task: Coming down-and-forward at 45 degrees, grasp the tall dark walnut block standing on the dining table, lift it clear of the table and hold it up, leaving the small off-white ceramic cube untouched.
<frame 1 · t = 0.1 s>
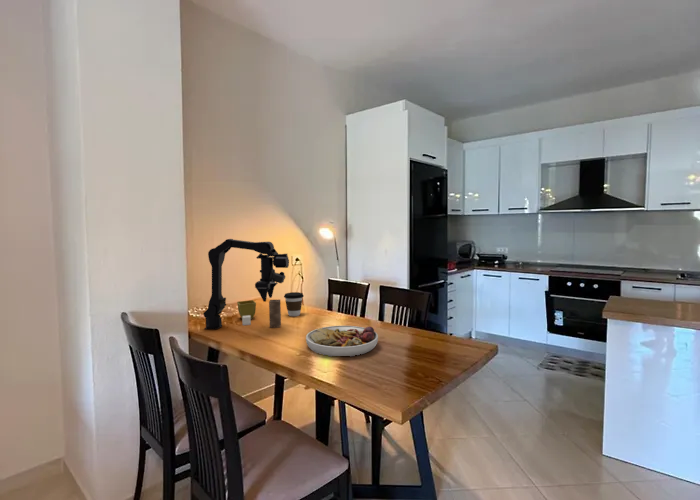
hand: (267, 299, 184), 15 cm above the table, tool pointing down, fingers open, 9 cm apart
bowl: (342, 347, 158), on the table
coffee cup: (294, 315, 212), on the table
ceramic cube: (246, 324, 194), on the table
walnut block: (275, 326, 190), on the table
flower pot: (246, 318, 205), on the table
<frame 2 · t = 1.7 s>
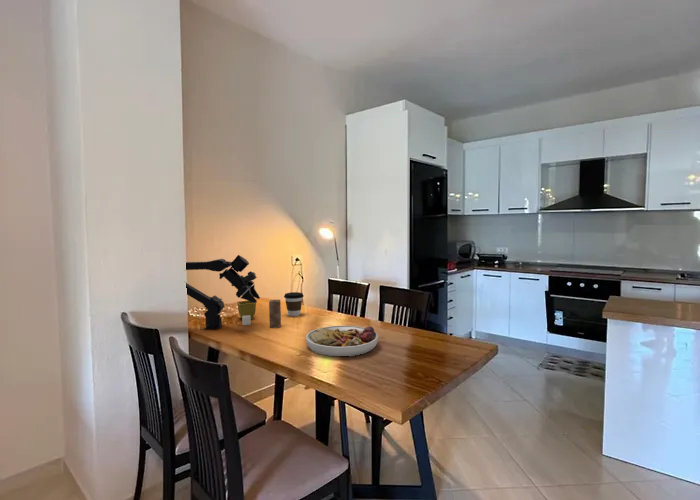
hand: (257, 300, 188), 13 cm above the table, tool tilted 45°, fingers open, 9 cm apart
nothing on the table moved.
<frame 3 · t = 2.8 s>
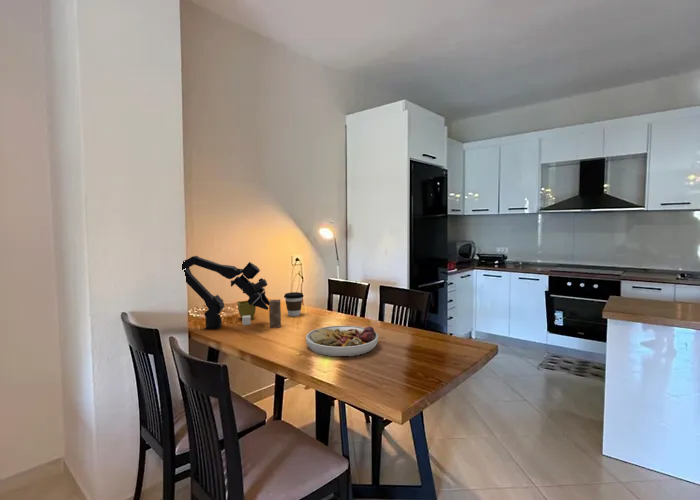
hand: (269, 307, 189), 10 cm above the table, tool tilted 45°, fingers open, 9 cm apart
nothing on the table moved.
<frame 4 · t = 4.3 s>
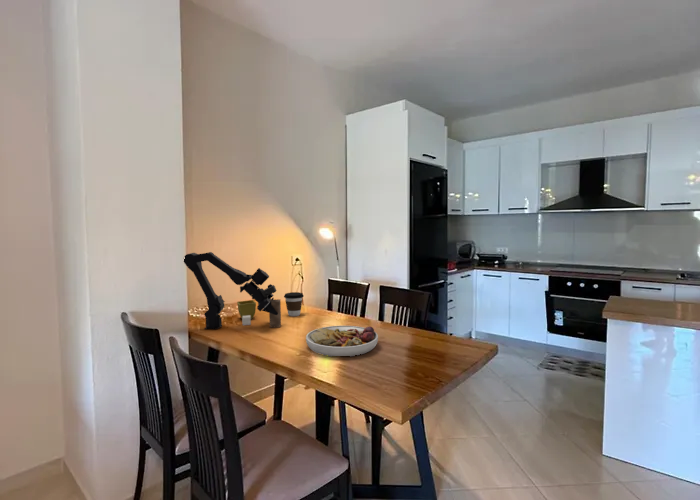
hand: (277, 313, 189), 7 cm above the table, tool tilted 45°, fingers closed on walnut block, 5 cm apart
walnut block: (275, 326, 190), on the table, touching gripper
everything else where it was.
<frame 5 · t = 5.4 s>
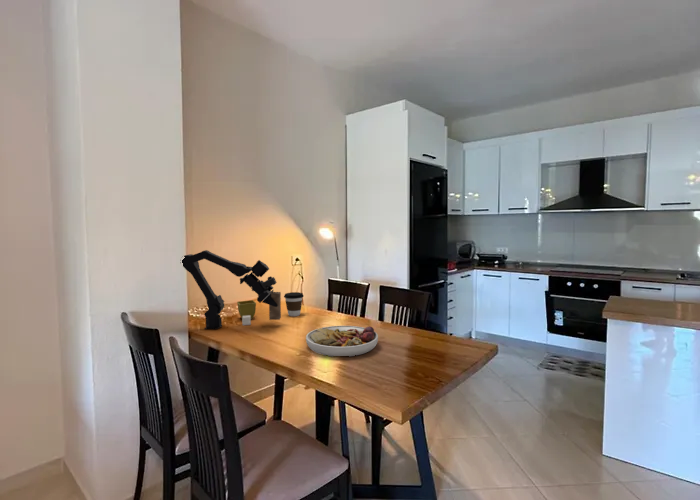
hand: (277, 305, 189), 11 cm above the table, tool tilted 45°, fingers closed on walnut block, 5 cm apart
walnut block: (275, 318, 189), point 4 cm above the table, touching gripper
everything else where it was.
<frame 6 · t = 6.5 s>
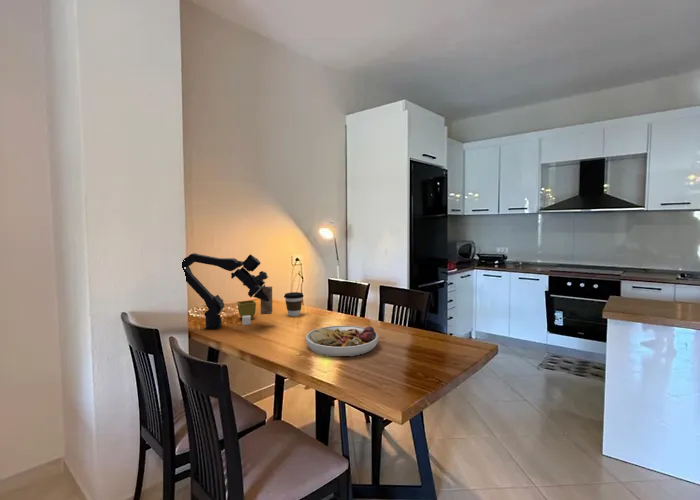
hand: (269, 299, 188), 13 cm above the table, tool tilted 45°, fingers closed on walnut block, 5 cm apart
walnut block: (266, 313, 189), point 7 cm above the table, touching gripper
everything else where it was.
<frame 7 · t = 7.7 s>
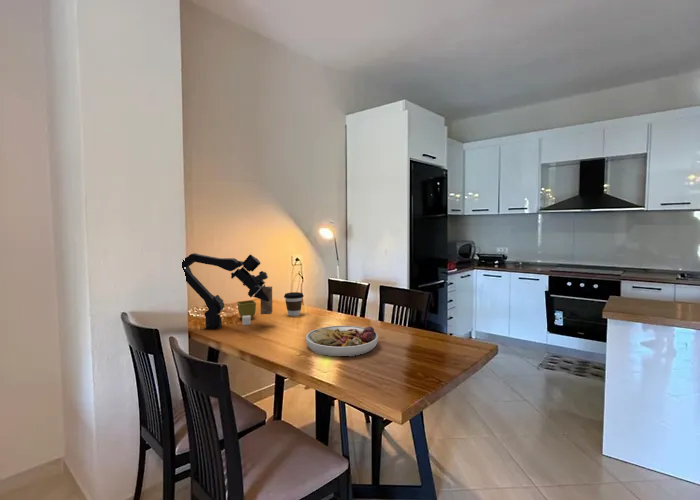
hand: (269, 299, 188), 13 cm above the table, tool tilted 45°, fingers closed on walnut block, 5 cm apart
walnut block: (266, 313, 189), point 7 cm above the table, touching gripper
everything else where it was.
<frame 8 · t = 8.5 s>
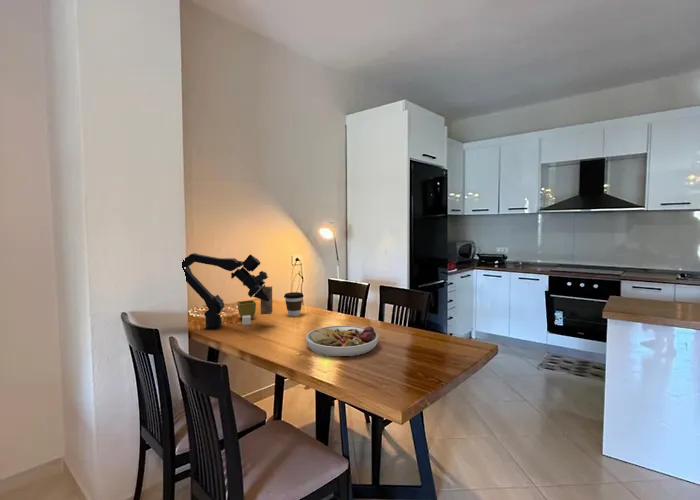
hand: (269, 299, 188), 13 cm above the table, tool tilted 45°, fingers closed on walnut block, 5 cm apart
walnut block: (266, 313, 189), point 7 cm above the table, touching gripper
everything else where it was.
at the end: walnut block point 6.8 cm above the table; the gripper is holding walnut block; walnut block touching gripper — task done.
